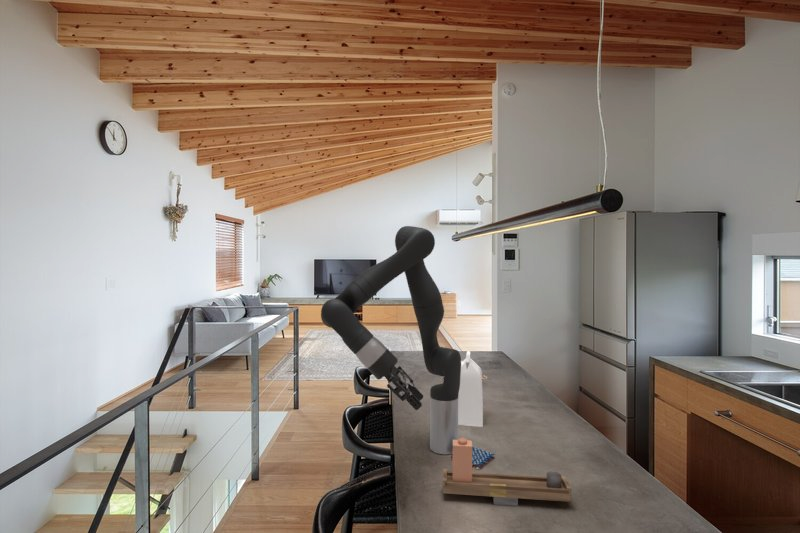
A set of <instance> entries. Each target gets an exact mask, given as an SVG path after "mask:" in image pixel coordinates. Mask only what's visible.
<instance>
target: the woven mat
mask: <svg viewBox="0 0 800 533" xmlns="http://www.w3.org/2000/svg"><path fill="white" fill-rule="evenodd" d="M450 458H451V461H453V454H452V455H451V456H450ZM493 459H495V453H492V452H491V451H490V452H489V451H486V450H483V449H481V448H478V447H474V446H472V468H473V469H476V470H480V469H482V468H483V467H484V466H486V465H488V463H489V462H490V461H492V460H493Z"/></svg>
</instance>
